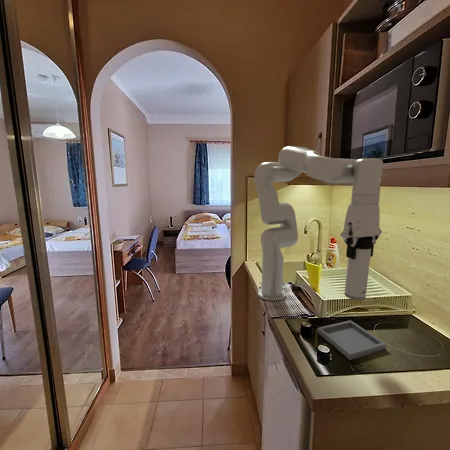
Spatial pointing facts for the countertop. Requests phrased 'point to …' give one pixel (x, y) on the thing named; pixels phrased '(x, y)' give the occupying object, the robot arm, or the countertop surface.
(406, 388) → the countertop surface
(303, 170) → the robot arm
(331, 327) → the tray
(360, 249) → the travel mug
